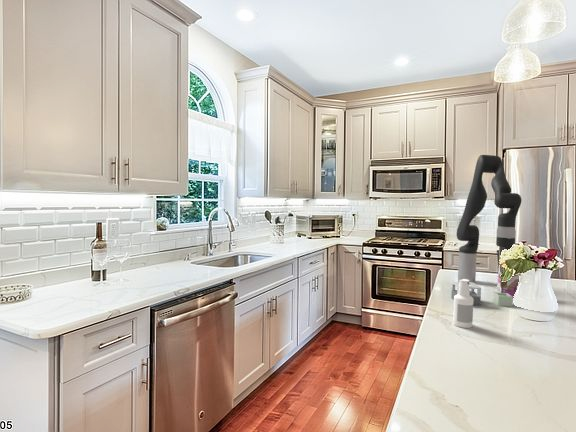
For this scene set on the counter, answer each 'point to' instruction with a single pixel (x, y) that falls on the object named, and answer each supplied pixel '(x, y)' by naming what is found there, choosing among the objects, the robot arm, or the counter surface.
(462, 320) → the spray bottle
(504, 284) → the walnut dowel
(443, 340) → the counter surface
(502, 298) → the green square hole block
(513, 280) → the candy bar box
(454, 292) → the box
